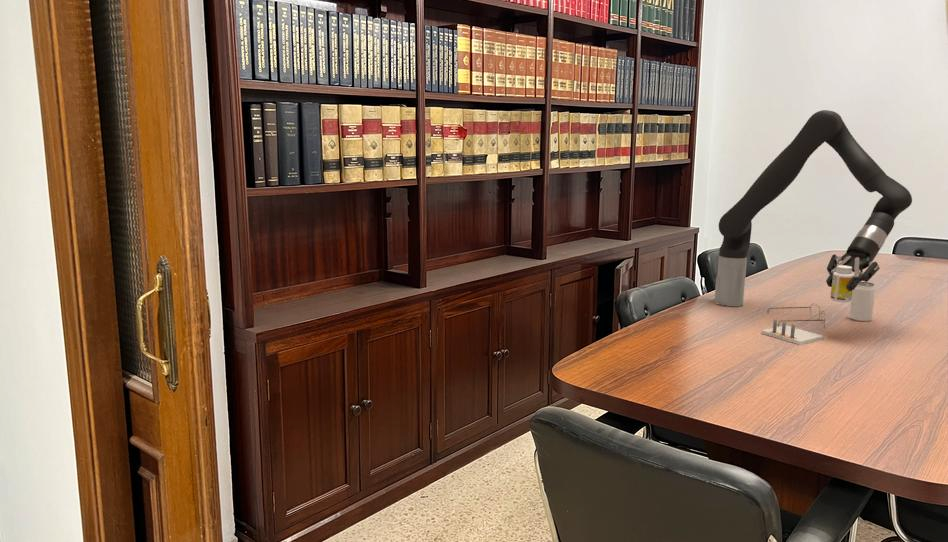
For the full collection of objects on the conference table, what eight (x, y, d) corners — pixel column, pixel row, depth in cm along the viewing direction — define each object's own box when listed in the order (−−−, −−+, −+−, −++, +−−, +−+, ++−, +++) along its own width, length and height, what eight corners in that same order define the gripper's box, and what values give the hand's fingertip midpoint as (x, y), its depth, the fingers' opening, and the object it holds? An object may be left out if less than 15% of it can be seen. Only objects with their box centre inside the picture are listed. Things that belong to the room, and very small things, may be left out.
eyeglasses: (828, 330, 215) (830, 314, 214) (777, 327, 218) (779, 312, 216) (814, 316, 230) (815, 302, 229) (766, 314, 233) (768, 299, 232)
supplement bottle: (855, 301, 202) (859, 267, 200) (842, 303, 200) (847, 269, 198) (838, 297, 207) (842, 264, 205) (825, 299, 205) (829, 265, 202)
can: (874, 322, 221) (879, 286, 219) (852, 321, 223) (856, 285, 220) (867, 317, 228) (871, 281, 225) (846, 316, 229) (850, 280, 226)
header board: (761, 333, 209) (762, 317, 208) (784, 328, 215) (786, 312, 214) (800, 344, 198) (801, 328, 197) (823, 339, 204) (825, 322, 203)
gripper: (839, 232, 209) (811, 274, 206) (887, 239, 197) (858, 284, 194) (848, 247, 213) (820, 289, 209) (895, 255, 201) (866, 300, 197)
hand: (838, 287), depth 202 cm, fingers closed on supplement bottle, 5 cm apart
